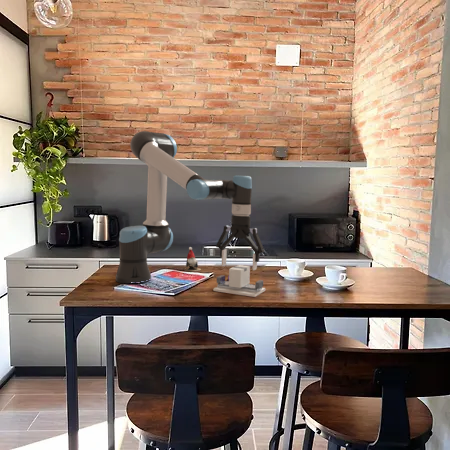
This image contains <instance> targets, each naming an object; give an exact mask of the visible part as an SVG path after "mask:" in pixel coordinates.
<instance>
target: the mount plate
mask: <svg viewBox="0 0 450 450" xmlns="http://www.w3.org/2000/svg"><path fill="white" fill-rule="evenodd" d="M265 291H266V287H262V290H260V291H258V292H257V293H254V292H247V291H240V290H233V289H226V288H219V287H218V286H216V287H214V288H213V292H219V293H227V294H233V295H237V296H238V295H239V296H247V297H252V298H255V297H258V296H259V295H261V294H262V293H264V292H265Z"/></svg>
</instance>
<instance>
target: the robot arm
mask: <svg viewBox="0 0 450 450" xmlns="http://www.w3.org/2000/svg"><path fill="white" fill-rule="evenodd" d="M129 146H130V151H131V152H132V154H133V156H135V157H136V158H137V159H138V160H139V161H141V162H143V163H145V164H146V166H147V167H148V169H147V193H146V196H147V198H146V201H147V202H146V219H145V220H144V221H143V222H142V225H130V226H126V227H123V228H122V229H120V231H119V238H118V242H119V244H118V245H119V265H118V267H117V271H116V274H115V282H116V283H119V284H124V283H131V282H141V281H146V280H149V279H151V280H152V274H151V272H150V269H149V265H148V255H149V254H155V253H161V252H164V251H167V250H168V249H169V248H170V247H172V245H173V242H174V234H173V231H172V229H171V228H170V227H169V223H168V221H167V220H166V218H167V216H166V213H167V212H166V211H167V194H168V193H167V191H168V190H167V189H168V178H169V179H171V180H172V181H173V182H175V183H176V184H177V185H178V186H180V187H181V188H183V189H185V190H186V194H187V195H188V197H189V198H190V199H193V200H197V201H198V200H199V201H201V200H212V199H213V200H214V199H215V200H216V199H222V200H223V199H225V200H231V214H232V215H231V222H230V223H231V226H230V225H224V226H223V231H222V233H221V235H220V237H219V239H218V241H217V243H216V245H215V247H216V248H218V249H219V257H220V258H221V266H222V267H224V266H227V254H228V252H227V251H228V249H227V248H226V247H227V246H228V245H229V244H230V243H231V242H232V241H233V240H234V239H242V240H243V239H244V240H245V241H246V242H247V244H248V245H249V247H251V249H252V251H253V252H254V253H253V254H252V271H256V270H258V262H259V261H260V256H261V255H260V254H262V253H264V252H265V249H264V246H263V243H262V241H261V238H260V235H259V233H258V232H259V230H258V228H257V227H255V228H251V216H250V215H251V214H252V190H253V185H252V184H253V183H252V182H253V181H252V180H253V178H252V177H251V176H250V175H234V176H233V177H232V179H231V180H229V179H205V178H204V177H202V175H199V174H198V173H197V172H195V171H193V170H192V169H191V168H189V167H187V165H185V164H183V163H182V162H181V161H179V160H177V159H176V158H175V156H176V155H177V151H178V147H177V143H176V141H175V139H174V138H173V137H172V135H169V134H167V133H163V132H154V131H147V130H141V131H138V132H137V133H135V134H134V135H133V136H132V137H131V139H130V144H129ZM230 231H231V234H230V235H229V237H228V238H227V235H228V234H229V232H230ZM250 234H252V236H253V237H252V236H251V235H250ZM226 238H227V239H226ZM252 238H253V239H254V240H253V239H252ZM225 239H226V240H225Z"/></svg>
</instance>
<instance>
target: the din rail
mask: <svg viewBox="0 0 450 450" xmlns="http://www.w3.org/2000/svg"><path fill="white" fill-rule="evenodd" d="M216 284H217V287H219V288H226V289H233V290H240V291H247V292H254V293H257V292H258V291H260V290H262V288H264V280H263V279H259V280H257V281H255V284H252V283H249V284H247V285H245V286H243V287H241V288H237V287H230V286H229V280H226V275H222V274H221V275H218V276H217V277H216Z"/></svg>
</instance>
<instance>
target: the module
mask: <svg viewBox="0 0 450 450" xmlns="http://www.w3.org/2000/svg"><path fill="white" fill-rule="evenodd" d="M228 269H229V271H228V276H229V280H228V281H229V286H230V287H237V288H241V287H243V286H245V285H247V284H251V283H250V280H251V279H250V278H251V277H250V276H251V272H250V271H251V266H250V265H242V264H241V265H240V264H239V265H235V266H233V267H231V268H228Z"/></svg>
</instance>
